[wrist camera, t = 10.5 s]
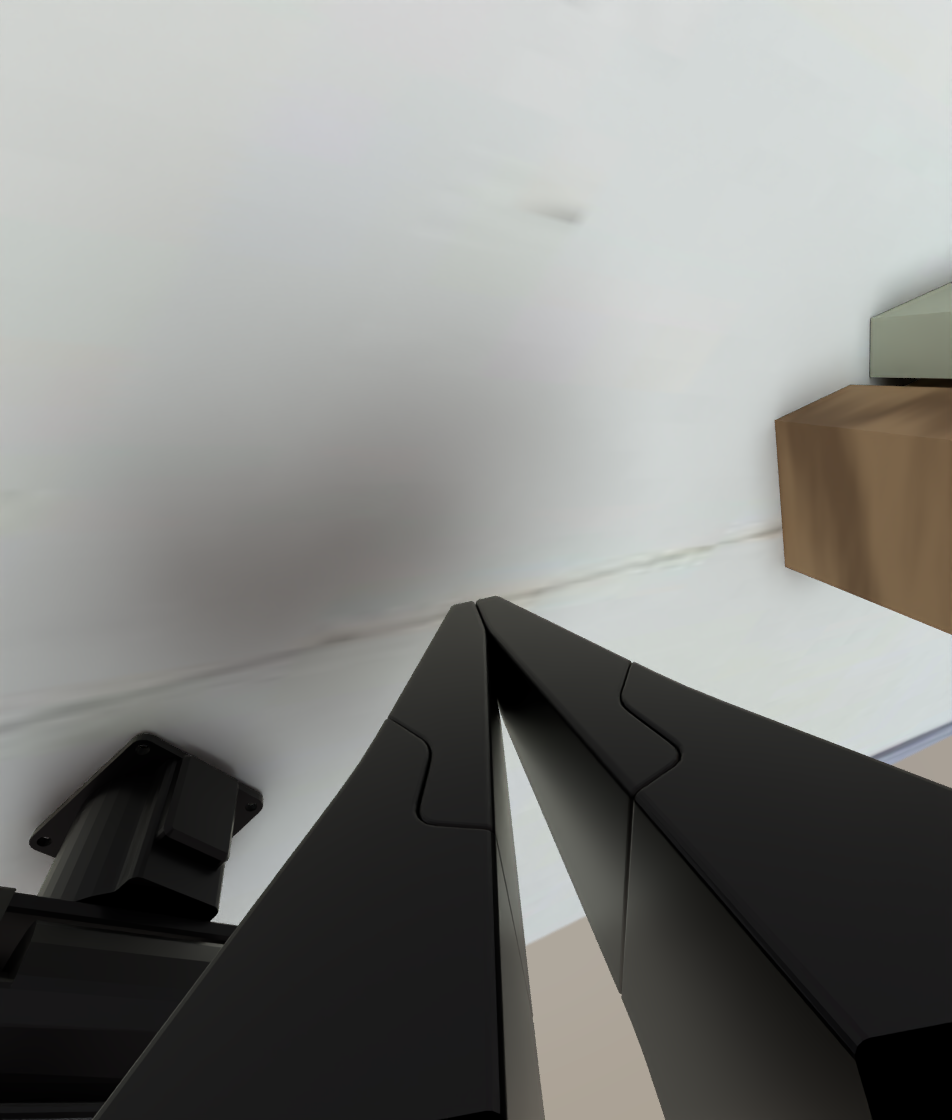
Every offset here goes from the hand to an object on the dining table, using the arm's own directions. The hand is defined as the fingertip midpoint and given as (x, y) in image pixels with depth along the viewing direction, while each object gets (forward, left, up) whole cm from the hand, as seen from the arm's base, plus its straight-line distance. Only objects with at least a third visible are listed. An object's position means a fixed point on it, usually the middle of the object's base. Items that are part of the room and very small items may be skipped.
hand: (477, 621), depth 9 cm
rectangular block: (+22, -18, -13) cm, 31 cm away
